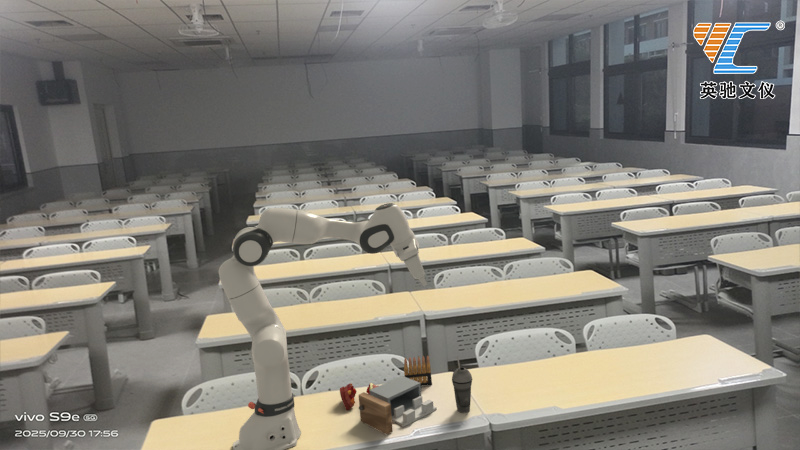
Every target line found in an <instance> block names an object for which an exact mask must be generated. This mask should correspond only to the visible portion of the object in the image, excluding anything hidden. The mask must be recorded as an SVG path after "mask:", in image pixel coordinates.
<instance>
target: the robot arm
mask: <svg viewBox="0 0 800 450" xmlns="http://www.w3.org/2000/svg"><path fill="white" fill-rule="evenodd" d="M328 238H329V239H340V240H347V241H352V242H354V243H356V244H357V245H359V246H360V248H361V249H362V250H363V251H364V252H366V253H368V254H370V255H371V254H372V255H373V254H374V255H375V254H379V253H381V252H382V251H383V250H385V249H386V248H387V247H388V246H389V245H390V247H391V249H392V251H393V253H394V254H395V256H396V257H397V258H398V259H399V260H400V261H401V262H403V264H405V266H406V267H407V270H408V271H409V272H410V274H411V276H412V277H413V278H414V279H415V280H418V281H419V282H420V284H421V286H422V287H426V286H428V282H427V280H426V278H425V276H426V273H425V269H424V267H423V265H422V262H421V259H420V256H419V253H420V251H419V247H420V243H419V241H418V238H417V237H416V235H415V233H414V231H413V230H412V229H411V228H410V225H409V222H408V218H407V217H406V215H405V214H404V212H403V210H402V208H401V207H400V206H399V205H398V204H396V203H393V202H388V203H387V202H386V203H384V204H381V205H379V206H377V207H376V208H375V209H374V212H373V214H372V216H371V217H370V218H365V219H361V220H357V221H347V220H339V219H331V218H326V217H324V216H321V215H318V214H317V213H316V214H315V213H312V212H309V211H306V210H303V209H301V210H300V209H295V208H288V207H287V208H286V207H272V208H271V207H269V208H267V209H265V210H264V211H263V212H262V213H261V215H260V218H259V219H258V224H257V226H254V225H248V226H247V225H246V226H244V227H242V228H241V229H239V231H237V233H236V235H235V237H234V239H233V241H232V253H233V255H232V257H230V258H229V259H226V260H225V261H223V263H221V265H220V266H219V268H218V278H219V281H220V285H221V286H222V289H223V291H224V294H225V296H226V298H227V300H228V302H229V305H230V306H231V308H232V310H233V311H234V314H235V316H236V317H237V320H238V321H239V322H241V324H242V325H243V326H244V328H245V330H246V331H247V332H248V334H249V336H250V339H251V356H252V362H253V369H254V374H255V380H256V389H257V400H256V403H254V402H253V401H249V402H248V405H247V407H248V408H249V409H250V410H254V411H253V413H252V414H251V415H250V416H249V418H248V419H247V420H246V421H245V422H244V423H243V424H242V425H241V427H240V429H239V433H238V434H239V435H238V439H237V440H235V441H234V442H232V443H233V444H232V450H287V449H290V448H292V447H295V446H296V445H297V444H298V439H299V438H300V436H301V434H302V433H301V429H300V427H299V424H298V421H297V417H296V413H295V398H294V397H295V396H294V393H293V390H292V383H291V373H290V362H289V356H288V355H289V354H288V344H287V343H288V342H287V341H288V340H287V331H286V328H285V327H284V325H283V322H282V321H281V319H280V318H279V316H278V314H277V313H276V311H275V309H274V308H273V306H272V305H271V303H270V301H269V299H268V297H267V295H266V293H265V290H264V289H263V287H262V284H261V283H260V281H259V278H258V277H257V275H256V272H255V267H256V266H257V265H260V264H262V263H263V262H264V261H265V260H266V258H267V257H268V255H269V253H270V250H271V248H272V247H273V244H274V243H278V242H280V243H288V244H289V243H290V244H293V245H313V244H315V243H317V242H318V241H320V240H323V239H328Z"/></svg>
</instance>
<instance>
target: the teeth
mask: <svg viewBox="0 0 800 450" xmlns="http://www.w3.org/2000/svg"><path fill="white" fill-rule="evenodd" d="M378 386H379V385H376V384H374V383H372V382H370V383H369V384H368V386H367V389H366V392H365V393H367V394H369V395H370V392H369V390H371V389H373V388H375V387H378ZM356 394H357V389H356V388H355V387H354V385H353V383H348V384H346V386H340V388H339V395H340V398H341V401H342V404H343V406H344V408H345V410H346V411H349V410H352V408H353V407H354V406H355V403H356V401H355V397H356Z"/></svg>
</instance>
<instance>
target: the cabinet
mask: <svg viewBox="0 0 800 450" xmlns="http://www.w3.org/2000/svg"><path fill="white" fill-rule="evenodd" d="M377 386H378V387H375V388H373V389H371V390H369V392H370V395H371V396H374V397H376V398H378V399H380V400H383V401H385V402H387V403H389V404H391V415H392V423H395V424H397V425H399V426H401V427H406V426H408V425H410V424H412V423H414V422H416V421H418V420H419V419H422V418H423V417H426V416H428V415H429V414H431V413H433V412H435V411H437V407H436V406H434V401H433V400H431V399H428V400H425V401H423V396H422V386H421V383H420V382H417V381H414V379H413V380H412V379H409V378H407V377H405V376H403V375H400V376H398V377H396V378H394V379H391V380H389V381H387V382H385V383H383V384H381V385H377Z"/></svg>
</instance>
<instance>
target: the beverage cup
mask: <svg viewBox="0 0 800 450" xmlns="http://www.w3.org/2000/svg"><path fill="white" fill-rule="evenodd" d="M456 360H457V366H458V368H457V369H455V370H454V371H453V373H452V376H451V383H452V386H453V391H454V398H455V399H454V400H455V405H456V411H457V412H458V413H461V414H466V413H469V412H470V411H471V397H472V396H471V395H472V384H473V377H472V373H471V372H470V370H468V369H467V368H465V367H461V366H460V365H461V364H460V359H459V356H458V355H457V356H456Z"/></svg>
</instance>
